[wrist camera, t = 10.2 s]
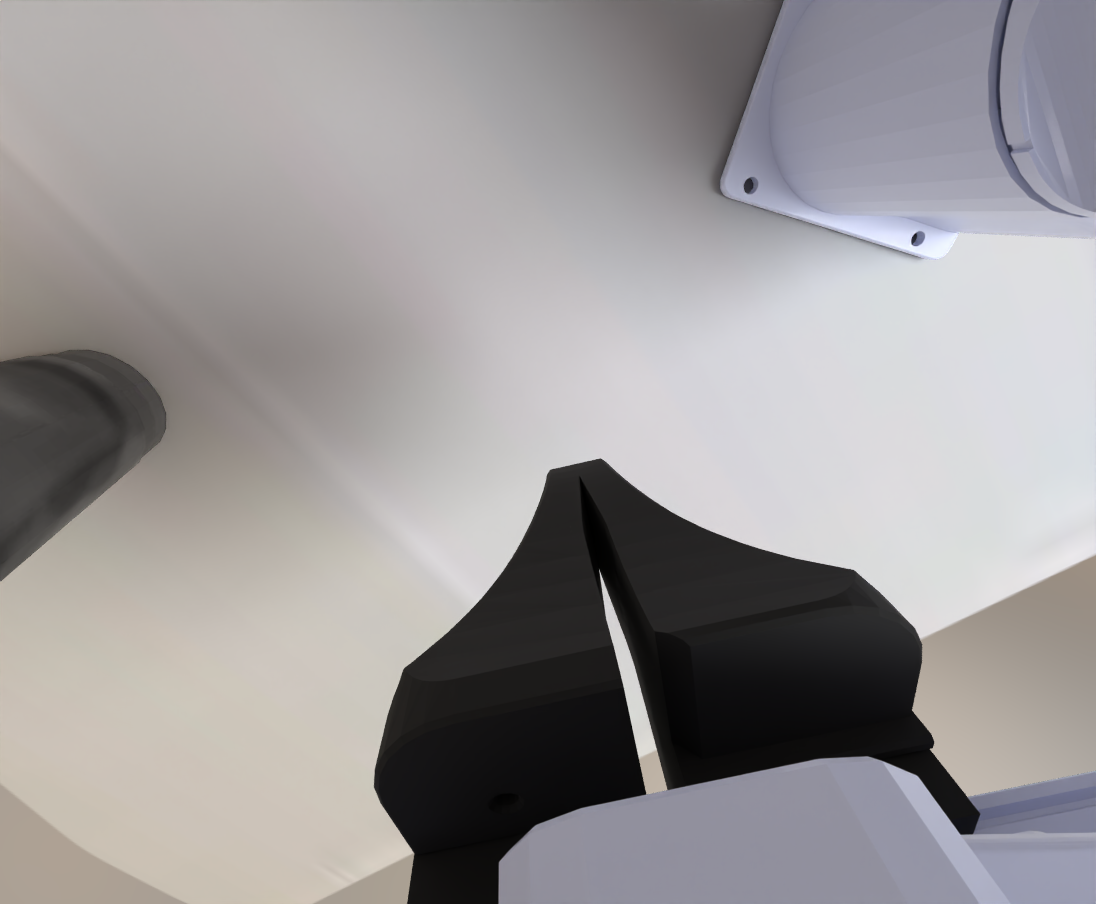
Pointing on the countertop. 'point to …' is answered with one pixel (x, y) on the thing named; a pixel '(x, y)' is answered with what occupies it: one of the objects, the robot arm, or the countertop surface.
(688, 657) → the robot arm
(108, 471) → the beverage cup
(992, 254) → the countertop surface
